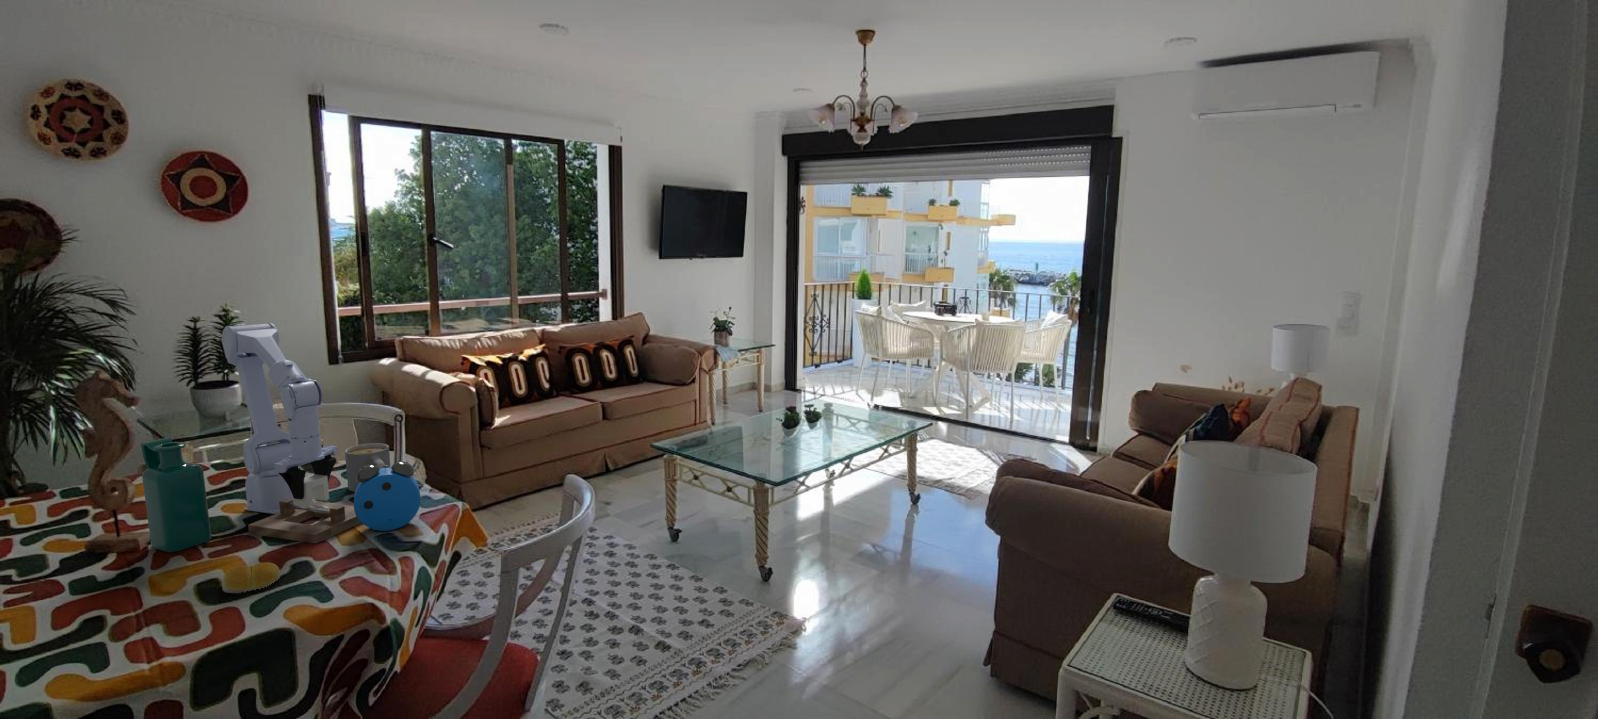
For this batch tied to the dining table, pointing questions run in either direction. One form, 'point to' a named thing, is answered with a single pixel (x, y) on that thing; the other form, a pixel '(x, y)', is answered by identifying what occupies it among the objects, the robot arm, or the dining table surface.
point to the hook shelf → (292, 529)
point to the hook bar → (311, 508)
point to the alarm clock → (386, 496)
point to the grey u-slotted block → (313, 490)
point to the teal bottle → (174, 497)
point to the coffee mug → (365, 460)
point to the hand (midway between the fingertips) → (310, 493)
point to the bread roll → (250, 577)
